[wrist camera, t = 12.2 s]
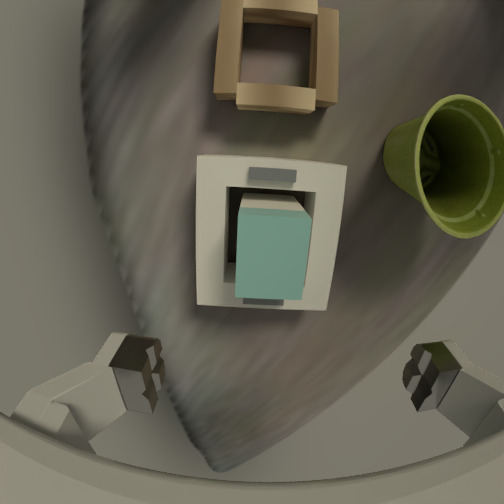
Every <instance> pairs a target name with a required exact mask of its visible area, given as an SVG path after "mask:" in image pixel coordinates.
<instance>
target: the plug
mask: <svg viewBox="0 0 504 504" xmlns="http://www.w3.org/2000/svg"><path fill="white" fill-rule="evenodd" d="M311 223H312V218H311V217H310V216H309V215H308V213H307V212H306V211H305V210H304V208H303V207H302V206H301V205H300V203H299V202H298V201H297V200H296V199H295V197H294V196H291V195H277V194H261V193H243V196H242V200H241V204H240V209H239V213H238V230H237V255H236V283H235V297H238V298H258V299H282V300H302V294H303V287H304V280H305V272H306V265H307V257H308V249H309V241H310V232H311Z"/></svg>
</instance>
